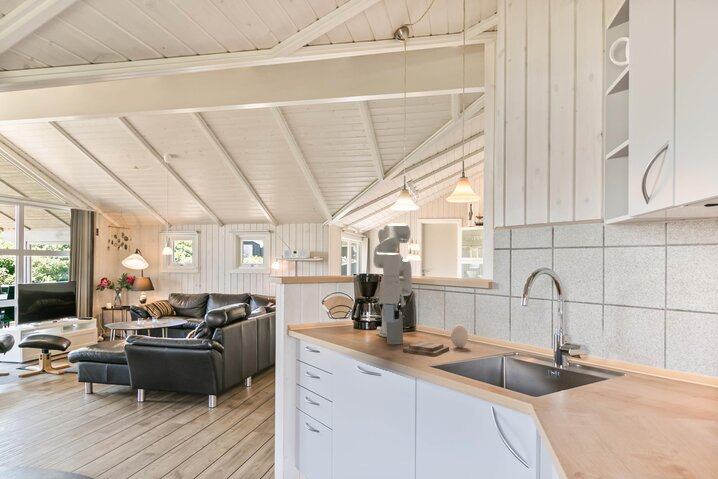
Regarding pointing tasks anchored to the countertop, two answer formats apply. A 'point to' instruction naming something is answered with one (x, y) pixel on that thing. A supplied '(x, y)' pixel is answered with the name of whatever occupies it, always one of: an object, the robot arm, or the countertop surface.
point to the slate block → (389, 313)
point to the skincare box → (395, 331)
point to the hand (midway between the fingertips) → (391, 318)
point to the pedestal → (426, 348)
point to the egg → (459, 336)
